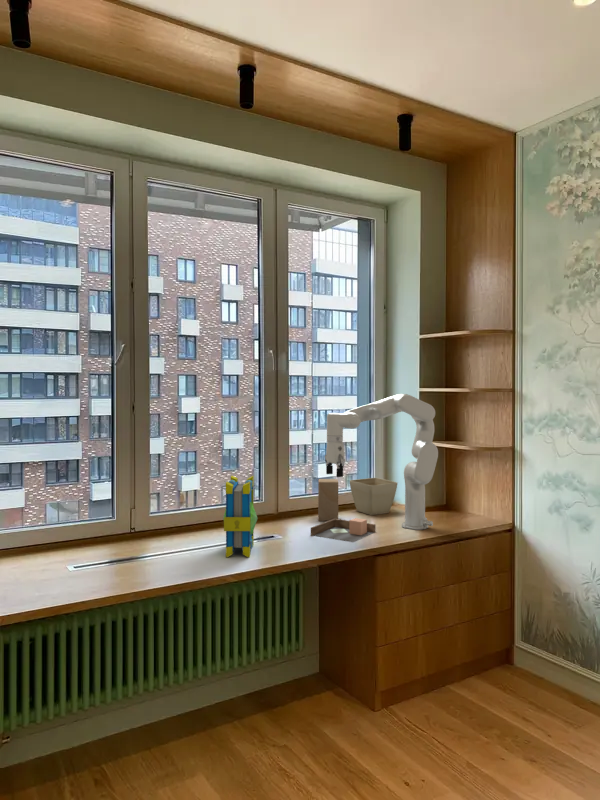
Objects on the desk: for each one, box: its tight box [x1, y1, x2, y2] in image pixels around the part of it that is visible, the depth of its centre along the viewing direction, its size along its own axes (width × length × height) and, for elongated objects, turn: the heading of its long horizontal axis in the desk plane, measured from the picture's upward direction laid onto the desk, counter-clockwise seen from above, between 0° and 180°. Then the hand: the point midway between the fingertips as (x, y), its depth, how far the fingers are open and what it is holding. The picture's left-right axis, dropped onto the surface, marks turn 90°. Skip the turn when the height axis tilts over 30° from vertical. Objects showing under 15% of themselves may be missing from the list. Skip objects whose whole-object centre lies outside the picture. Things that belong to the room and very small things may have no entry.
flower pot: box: [349, 477, 398, 516], centre depth 332 cm, size 19×19×17 cm
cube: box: [348, 517, 368, 535], centre depth 284 cm, size 6×6×6 cm
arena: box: [310, 518, 377, 543], centre depth 283 cm, size 22×22×4 cm
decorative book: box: [222, 475, 259, 558], centre depth 255 cm, size 14×23×30 cm, turn 0°
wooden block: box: [317, 478, 339, 522], centre depth 315 cm, size 10×10×20 cm
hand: (334, 475), depth 289 cm, fingers open, 9 cm apart
